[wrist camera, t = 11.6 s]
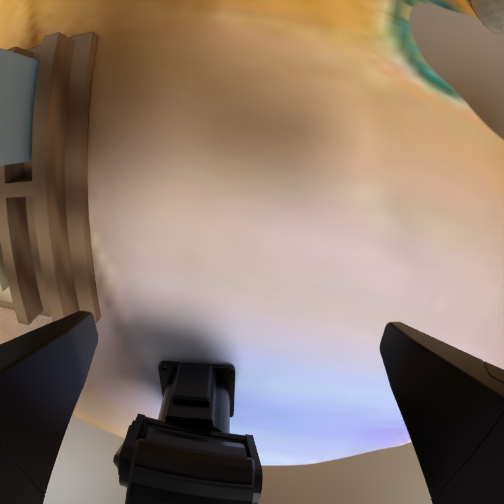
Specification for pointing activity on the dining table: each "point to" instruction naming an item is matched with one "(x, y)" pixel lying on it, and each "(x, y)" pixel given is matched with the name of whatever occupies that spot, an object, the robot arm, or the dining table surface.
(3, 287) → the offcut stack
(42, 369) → the robot arm
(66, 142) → the rack
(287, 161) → the dining table surface
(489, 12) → the house plant
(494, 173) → the dining table surface
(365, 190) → the dining table surface
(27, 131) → the light blue block
